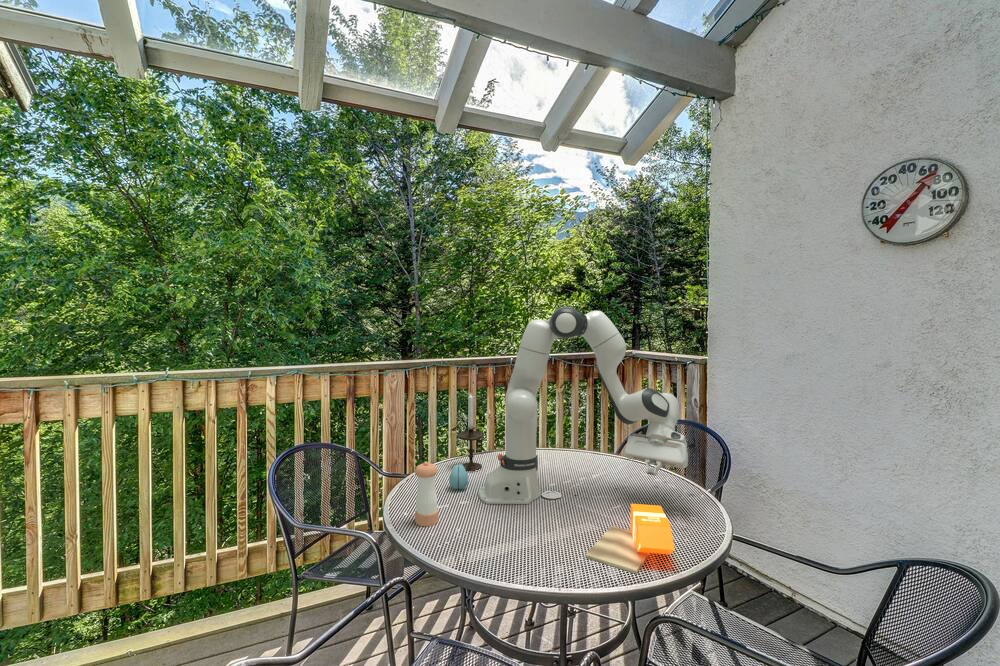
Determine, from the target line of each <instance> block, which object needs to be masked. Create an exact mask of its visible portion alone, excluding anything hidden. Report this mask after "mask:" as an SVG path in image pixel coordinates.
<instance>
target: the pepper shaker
mask: <svg viewBox="0 0 1000 666" xmlns="http://www.w3.org/2000/svg"><path fill="white" fill-rule="evenodd" d="M414 469H415V470H414V474H415V476H416V477H417V491H416V499H415V506H416V507H415V509H416V510H415V511H414V513H415V515H414V517H415V518H414V520H415V521H414V522H416V523H415V524H416V525H417V524H418V525H420V526H419V527H423V526H427V527H432V526H435V525H437V524H438V523H439V508H438V497H437V491H436V475H437V473H438V467H437V466H436V465H435V463H434V464H433V463H432V462H428V461H424V462H423V463H420V464H418V465H417V466H416V467H415V468H414ZM437 522H438V523H437ZM436 523H437V524H436ZM434 524H435V525H434ZM418 525H417V526H418Z"/></svg>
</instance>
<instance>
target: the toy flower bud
mask: <svg viewBox="0 0 1000 666" xmlns="http://www.w3.org/2000/svg"><path fill="white" fill-rule="evenodd" d="M448 477H449V479H448V480H449V481H448V483H449V486H450V487H451V488H452V489H453V490H455V489H457V490H460V489H463V490H464V489H465V488H466V487H467V486H468V484H469V474H468V472H466V470H465V468H464V466H463V465H462V464H455V465H454V466H453V468H452V470H451V472H450V474H449V476H448Z"/></svg>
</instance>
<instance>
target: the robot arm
mask: <svg viewBox="0 0 1000 666" xmlns="http://www.w3.org/2000/svg"><path fill="white" fill-rule="evenodd" d="M579 336H581V337H583V338H584V339H585V340H586V342H587V343H588V345H589V347H590V348H591V351H593V353H594V356H595V359H596V364H595V365H596V370H597V372H598V375H599V377H600V380H601V382H602V384H603V386H604V388H605V390H606V392H607V395H608V396H609V399H610V401H611V403H612V407H613V410H614V414H615V416H616V418H617V419H618V420H619V421H620V422H622V423H623V424H626V425H633V424H635V423H638V422H640V421H643V420H647V421H648V422H649V423H648V425H647V426H648V427H647V429H646V434H641V433H640V434H639V433H636V432H635V433H632V434H630V435H628V438H627V441H626V442H627V443H626V445H625V447H624V450H623V454H624V455H625V457H626V458H627V459H629V460H632V461H633V460H634V461H640V462H645V465H646V470H645V472H646V474H647V475H651V476H657V473H658V471H660V469H662V467H663V466H668V467H674V468H679V469H685V468H687V467H688V465H689V453H688V449H687V448H688V443H687V440H686V439H687V438H686V437H685V435H683V434H681V433H679V432H677V431H676V425H677V424H678V420H679V413H680V404H679V400H678V398H677V397H675V395H673V394H671V393H669V392H659V391H657V390H655V389H654V388H650V387H649V388H648V387H647V388H644V389H641V390H638V391H636V392H633V393H630V394H628V393H627V392H626V390H625V389H624V386H623V384H622V382H621V381H620V378H619V376H618V373H617V369H618V366H619V365H620V364H621V362H622V361H623V360H624V358H625V355H626V352H627V345H626V341H625V339H624V338H623V336H622V334H621V333H620V331H619V330H618V328H617V327H616V325H615V324H614V323H613V322H612V320H611V319H610V318H609V317H608V316H607V315H606V314H605V313H604V312H603V311H602V310H592V311H588V312H587V313H586V314H584V313H582V312H580V311H578V310H576V309H575V308H574V307H570V306H562V307H561V306H560V307H559V308H557V309H555V311H554V312H552V314H551V316H550V317H549V318H548V319H546V320H545V319H533V320H530V321H529V322H528V323H527V324H526V327H525V329H524V332H523V333H522V337H521V340H520V343H519V347H518V351H517V354H516V359H515V362H514V366H513V370H512V372H511V377H510V379H509V383H508V385H507V386H508V387H507V390H506V393H505V400H504V401H505V454H504V455H503V454H502V453H499V454H497V459H498V461H499V462H500V465H499V466H497V467H496V468H494V470H492V471H491V472H490V473H488V474H487V475H486V477H485V481H484V486H480V488H479V489H478V497H480V498H479V499H480V500H481V502H483V503H485V504H487V505H529V504H531V503H532V501H535V500H536V499H538V498H539V497H541V495H542V492H541V490H540V485H539V479H538V468H539V460H538V458H539V457H538V455H537V431H538V430H537V429H538V428H537V427H538V414H539V413H538V409H539V408H538V406H539V405H538V400H537V396H538V392H539V390H540V386H541V383H542V380H543V379H544V376H545V373H546V369H547V365H548V361H549V357H550V354H551V349H552V346H553V344H554V342H555V340H556V339H558V338H561V339H572V338H575V337H579ZM651 464H656V465H655V466H654V467H650V466H651Z"/></svg>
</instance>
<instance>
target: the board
mask: <svg viewBox="0 0 1000 666" xmlns="http://www.w3.org/2000/svg"><path fill="white" fill-rule="evenodd" d="M650 554H651V553H648V552H637V549H636V546H635V542H634V540H633V536H632V532H631V529H626V528H622V527H617V526H615V525H611V526H610V527H609V528H608V529H607V531H605V532H604V534H603V535H602V536H601V537H600V538H599V539H598V540H597V541H596V542H595V543H594V545H593V546H592V547H591V548H590V549H588V551H587V552H586V554H585V558H586V559H589V560H592V561H594V562H598V563H601V564H604V565H608V566H611V567H615V568H617V569H621V570H624V571H627V572H630V573H634V574H636V575H637V574H638V572H639V571H641V568H642V567H643V565H644V564H645V562H646V561H647V559H648V558H649V555H650Z"/></svg>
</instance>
